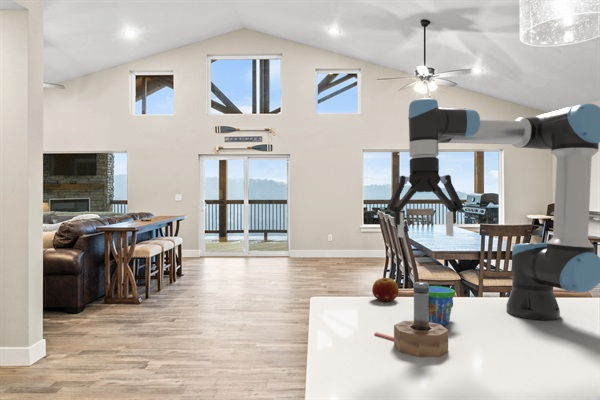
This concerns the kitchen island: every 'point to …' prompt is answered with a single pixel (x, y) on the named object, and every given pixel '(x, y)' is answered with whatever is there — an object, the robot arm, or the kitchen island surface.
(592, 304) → the kitchen island surface
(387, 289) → the fruit
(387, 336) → the pink stick
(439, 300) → the snack cup
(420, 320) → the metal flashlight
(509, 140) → the robot arm
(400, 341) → the bead
